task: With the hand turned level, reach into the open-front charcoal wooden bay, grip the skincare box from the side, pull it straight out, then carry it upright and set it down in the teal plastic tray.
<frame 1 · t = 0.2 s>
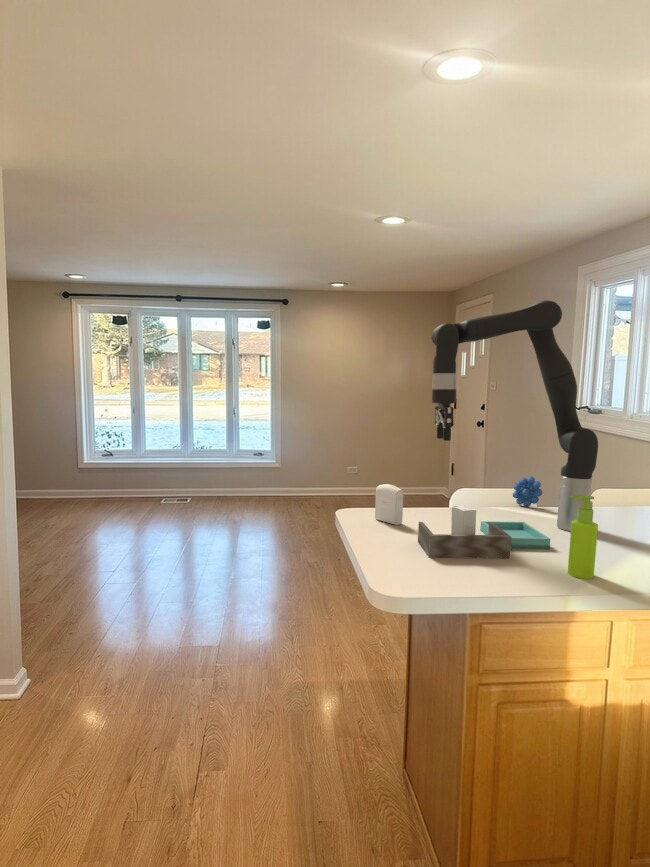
hand: (443, 439, 170), 28 cm above the table, tool pointing down, fingers open, 8 cm apart
photo printer: (388, 522, 178), on the table
skincare box: (462, 550, 150), on the table
bay: (462, 550, 150), on the table
tray: (513, 539, 162), on the table
soap dispenser: (578, 575, 133), on the table
blue knobbly flower shape: (527, 507, 205), on the table
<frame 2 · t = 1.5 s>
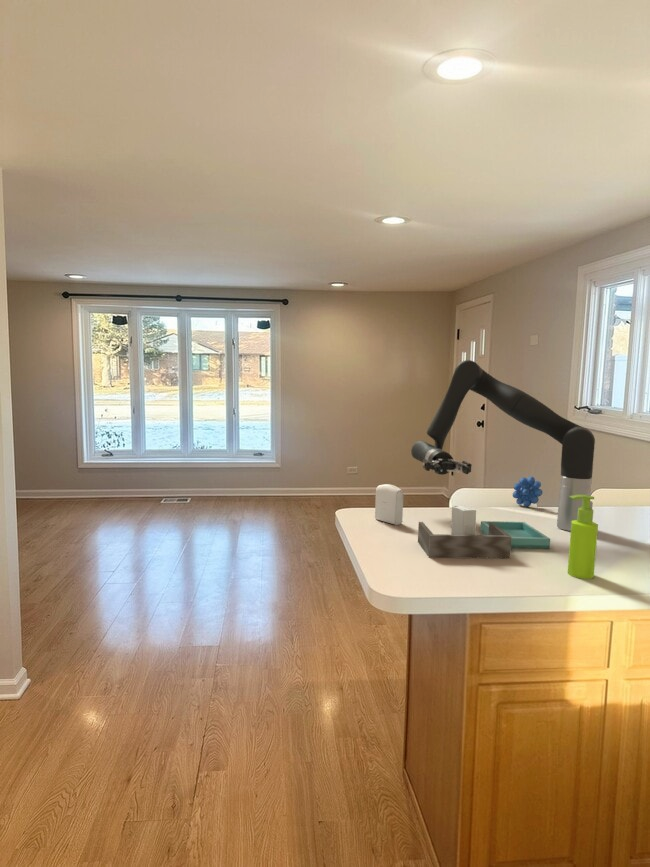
hand: (453, 470, 160), 20 cm above the table, tool horizontal, fingers open, 8 cm apart
nothing on the table moved.
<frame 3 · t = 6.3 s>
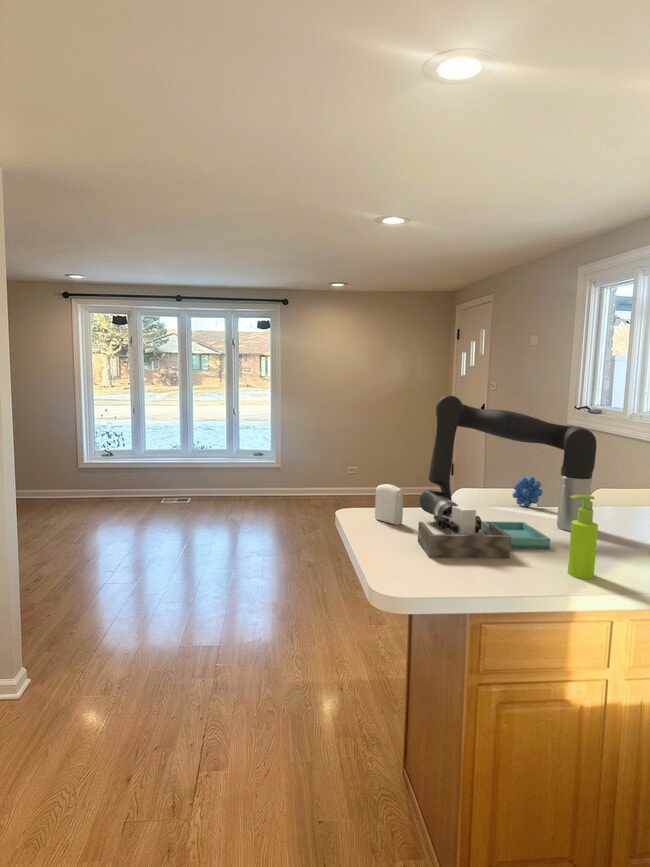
hand: (466, 529, 146), 7 cm above the table, tool horizontal, fingers closed on skincare box, 5 cm apart
skincare box: (462, 550, 150), on the table, touching gripper
everything else where it was.
when the fingers open (8 cm above the table, at t = 15.1 s): skincare box moves 5 cm, resting on tray.
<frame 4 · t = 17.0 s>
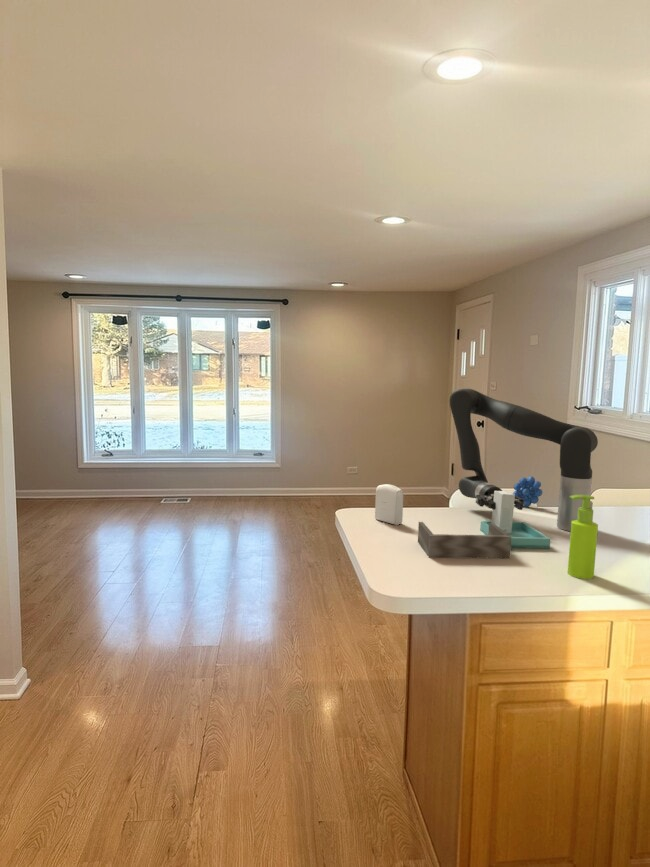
hand: (507, 506, 166), 9 cm above the table, tool horizontal, fingers open, 8 cm apart
skincare box: (500, 531, 166), point 1 cm above the table, touching gripper, tray
everything else where it was.
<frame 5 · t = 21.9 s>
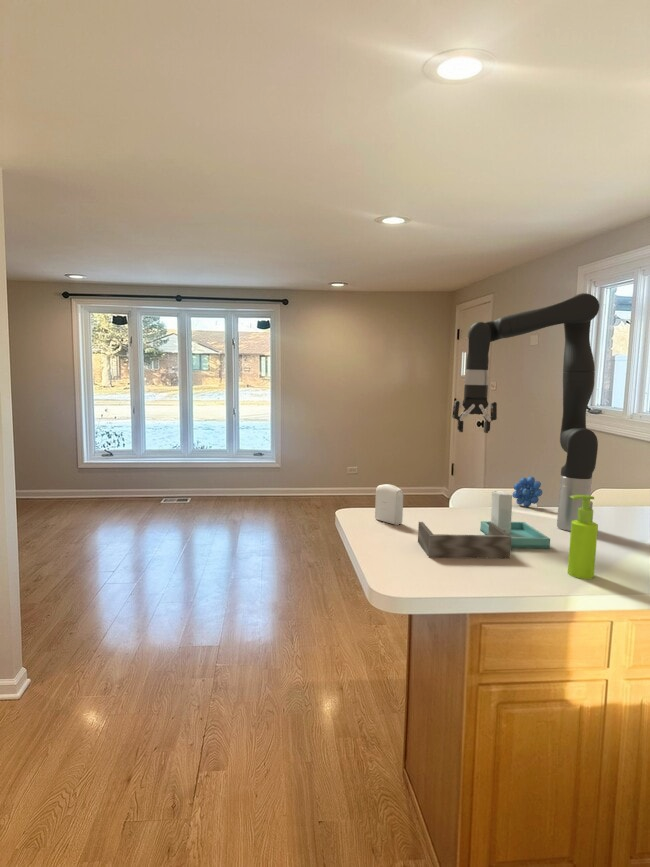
hand: (473, 432, 179), 30 cm above the table, tool pointing down, fingers open, 8 cm apart
skincare box: (500, 531, 166), point 1 cm above the table, touching tray
everything else where it was.
at the end: skincare box inside the target area on the tray (5.4 cm from its centre), point 0.8 cm above the tray's base; skincare box tilted 0°; the gripper is holding nothing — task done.
